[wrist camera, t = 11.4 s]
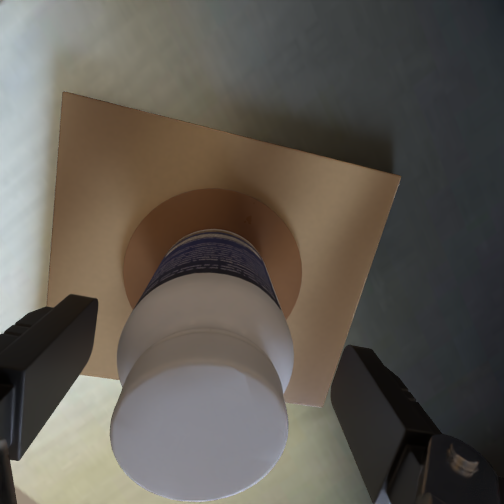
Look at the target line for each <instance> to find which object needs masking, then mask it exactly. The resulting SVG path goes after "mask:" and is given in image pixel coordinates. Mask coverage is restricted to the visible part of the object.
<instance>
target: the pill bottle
mask: <svg viewBox="0 0 504 504" xmlns="http://www.w3.org/2000/svg"><path fill="white" fill-rule="evenodd" d="M293 363H294V348H293V341H292V337H291V333H290V330H289V327H288V324H287V322H286V319H285V317H284V314H283V312H282V309H281V306H280V304H279V301H278V298H277V296H276V293H275V290H274V287H273V285H272V282H271V279H270V277H269V274H268V271H267V268H266V266H265V263H264V261H263V259H262V257H261V256H260V254H259V253H258V251H257V250H256V249H255V247H254V246H253V245H252V244H251V243H249V242H248V241H247V240H246V239H244V238H243V237H241V236H239V235H237V234H235V233H233V232H230V231H226V230H220V229H206V230H200V231H196V232H193V233H191V234H189V235H187V236H185V237H183V238H182V239H180V240H179V241H178V242H176V243H175V244H174V245H173V246H172V247H171V248H170V249H169V251H168V252H167V253H166V255H165V256H164V258H163V260H162V261H161V263H160V265H159V266H158V268H157V270H156V272H155V273H154V275H153V277H152V279H151V280H150V282H149V284H148V285H147V287H146V289H145V291H144V292H143V294H142V296H141V298H140V299H139V301H138V302H137V304H136V306H135V307H134V309H133V311H132V313H131V314H130V316H129V318H128V320H127V322H126V324H125V326H124V328H123V330H122V333H121V336H120V339H119V343H118V349H117V369H118V375H119V379H120V382H121V385H122V387H123V388H122V391H121V394H120V396H119V399H118V401H117V404H116V406H115V409H114V412H113V415H112V418H111V425H110V440H111V446H112V450H113V453H114V456H115V458H116V460H117V462H118V464H119V465H120V467H121V468H122V469H123V471H124V472H125V473H126V474H127V475H128V476H129V477H130V478H131V479H132V480H133V481H134V482H135V483H137V484H138V485H139V486H141V487H143V488H144V489H146V490H148V491H150V492H152V493H154V494H156V495H159V496H162V497H165V498H169V499H173V500H178V501H190V502H204V501H211V500H217V499H222V498H227V497H230V496H232V495H235V494H237V493H240V492H242V491H244V490H246V489H248V488H249V487H251V486H253V485H254V484H256V483H257V482H259V481H260V480H261V479H262V478H264V477H265V476H266V475H267V474H268V473H269V472H270V470H271V469H272V468H273V467H274V466H275V464H276V463H277V462H278V460H279V458H280V457H281V455H282V453H283V450H284V448H285V445H286V441H287V437H288V415H287V410H286V405H285V401H284V396H283V394H284V392H285V390H286V388H287V386H288V383H289V381H290V377H291V374H292V370H293Z"/></svg>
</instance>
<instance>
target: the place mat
mask: <svg viewBox="0 0 504 504" xmlns="http://www.w3.org/2000/svg"><path fill="white" fill-rule="evenodd" d="M400 179H401V176H400V175H396V174H392V173H388V172H384V171H380V170H376V169H372V168H368V167H364V166H360V165H356V164H352V163H348V162H344V161H340V160H336V159H332V158H328V157H324V156H320V155H316V154H312V153H308V152H304V151H300V150H296V149H292V148H288V147H284V146H280V145H276V144H272V143H268V142H264V141H260V140H256V139H252V138H248V137H244V136H240V135H236V134H232V133H228V132H224V131H220V130H216V129H212V128H208V127H204V126H200V125H196V124H192V123H188V122H184V121H181V120H177V119H173V118H169V117H165V116H161V115H157V114H153V113H149V112H145V111H141V110H137V109H133V108H129V107H125V106H121V105H117V104H113V103H109V102H105V101H101V100H97V99H93V98H89V97H85V96H81V95H77V94H73V93H69V92H65V91H64V92H63V94H62V107H61V121H60V134H59V147H58V161H57V174H56V188H55V201H54V214H53V228H52V241H51V255H50V268H49V281H48V295H47V307H53V308H54V307H55V306H56V305H57V304H58V303H60V302H61V301H62V300H63V299H64V298H66V297H67V296H68V295H69V294H76V295H81V296H87V297H92V298H97V299H98V314H97V322H96V330H95V338H94V345H93V350H92V353H91V356H90V358H89V361H88V363H87V364H86V366H85V367H84V369H83V370H82V372H81V373H80V375H87V376H94V377H101V378H109V379H116V380H120V379H119V375H118V369H117V349H118V343H119V339H120V336H121V333H122V330H123V328H124V326H125V324H126V322H127V320H128V318H129V316H130V314H131V313H132V311H133V309H134V307H135V306H136V304H137V302H138V301H139V299H140V298H141V296H142V294H143V292H144V291H145V289H146V287H147V285H148V284H149V282H150V280H151V279H152V277H153V275H154V273H155V272H156V270H157V268H158V266H159V265H160V263H161V261H162V260H163V258H164V256H165V255H166V253H167V252H168V251H169V249H170V248H171V247H172V246H173V245H174V244H175V243H176V242H178V241H179V240H180V239H182V238H183V237H185V236H187V235H189V234H191V233H193V232H196V231H200V230H206V229H220V230H226V231H230V232H233V233H235V234H237V235H239V236H241V237H243V238H244V239H246V240H247V241H248V242H249V243H251V244H252V245H253V246H254V247H255V249H256V250H257V251H258V253H259V254H260V256H261V257H262V259H263V261H264V263H265V266H266V268H267V271H268V274H269V277H270V279H271V282H272V285H273V287H274V290H275V293H276V296H277V298H278V301H279V304H280V306H281V309H282V312H283V314H284V317H285V319H286V322H287V324H288V327H289V330H290V333H291V337H292V341H293V348H294V363H293V370H292V374H291V377H290V381H289V383H288V386H287V388H286V390H285V392H284V394H283V396H284V401H285V403H292V404H300V405H307V406H314V407H323V405H324V402H325V399H326V396H327V393H328V390H329V388H330V385H331V382H332V379H333V376H334V373H335V370H336V367H337V364H338V361H339V358H340V355H341V352H342V349H343V346H344V344H345V341H346V338H347V335H348V332H349V329H350V326H351V323H352V320H353V317H354V314H355V311H356V308H357V305H358V302H359V299H360V297H361V294H362V291H363V288H364V285H365V282H366V279H367V276H368V273H369V270H370V267H371V264H372V261H373V258H374V255H375V253H376V250H377V247H378V244H379V241H380V238H381V235H382V232H383V229H384V226H385V223H386V220H387V217H388V214H389V211H390V208H391V206H392V203H393V200H394V197H395V194H396V191H397V188H398V185H399V182H400Z"/></svg>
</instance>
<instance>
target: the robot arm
mask: <svg viewBox="0 0 504 504" xmlns="http://www.w3.org/2000/svg"><path fill="white" fill-rule="evenodd" d="M97 314H98V299H97V298H92V297H87V296H81V295H76V294H69V295H68V296H67V297H66V298H64V299H63V300H62V301H61V302H60V303H58V304H57V305H56V306H55V307H54V308H53V307H47V306H46V307H44V308H41V309H38V310H36V311H33V312H30V313H28V314H27V315H25V316H24V317H23V318H21V319H20V320H19V321H17V322H16V323H15V325H12V326H11V327H10V328H8V329H7V330H6V331H5V332H4V334H0V504H17V501H16V495H15V488H14V482H13V476H12V470H11V464H10V460H16V461H19V460H20V459H21V458H22V456H23V455H24V453H25V452H26V450H27V449H28V448H29V446H30V445H31V443H32V442H33V440H34V439H35V438H36V436H37V435H38V433H39V432H40V430H41V429H42V428H43V426H44V425H45V423H46V422H47V420H48V419H49V418H50V416H51V415H52V413H53V412H54V410H55V409H56V408H57V406H58V405H59V403H60V402H61V400H62V399H63V398H64V396H65V395H66V393H67V392H68V390H69V389H70V387H71V386H72V385H73V383H74V382H75V380H76V379H77V377H78V376H79V375H80V373H81V372H82V370H83V369H84V367H85V366H86V364H87V363H88V361H89V358H90V356H91V353H92V350H93V345H94V338H95V330H96V322H97ZM331 402H332V406H333V408H334V410H335V413H336V415H337V418H338V420H339V423H340V425H341V427H342V430H343V432H344V435H345V437H346V440H347V442H348V444H349V447H350V449H351V452H352V454H353V456H354V459H355V461H356V464H357V466H358V469H359V471H360V473H361V476H362V478H363V481H364V483H365V486H366V488H367V490H368V493H369V495H370V498H371V500H372V503H373V504H504V479H503V478H501V477H498V476H497V475H496V472H495V470H494V469H493V467H492V466H491V465H490V463H489V462H488V461H487V460H486V459H485V458H484V457H483V456H482V455H481V454H480V453H479V452H477V451H476V450H475V449H474V448H472V447H471V446H469V445H468V444H466V443H464V442H463V441H461V440H459V439H457V438H454V437H452V436H448V435H444V434H442V433H441V432H440V430H439V429H438V428H437V427H436V425H435V424H434V423H433V421H432V420H431V419H430V417H429V416H428V415H427V413H426V412H425V411H424V410H423V408H422V407H421V406H420V404H419V403H418V402H416V399H415V398H414V397H413V395H412V394H411V393H410V392H408V389H407V387H406V386H405V385H404V384H403V382H402V381H401V380H400V378H399V377H398V376H396V375H395V374H394V373H393V372H391V371H390V370H389V369H388V368H387V367H385V366H384V365H383V363H382V362H381V361H380V359H379V358H378V357H377V355H376V354H375V353H374V351H373V350H372V349H369V348H364V347H358V346H353V345H348V346H346V348H345V349H344V351H343V354H342V357H341V360H340V362H339V365H338V368H337V371H336V374H335V377H334V380H333V383H332V386H331Z"/></svg>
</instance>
